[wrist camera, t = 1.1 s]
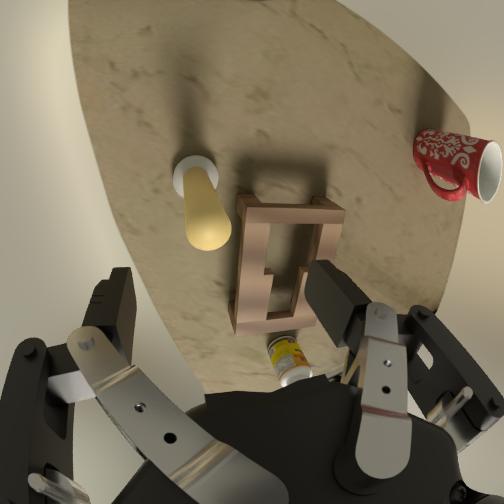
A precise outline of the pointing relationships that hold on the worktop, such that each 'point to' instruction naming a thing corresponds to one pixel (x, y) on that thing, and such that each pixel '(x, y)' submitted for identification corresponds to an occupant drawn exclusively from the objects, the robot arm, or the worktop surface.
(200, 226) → the peg
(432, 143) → the mug
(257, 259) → the keyhole board
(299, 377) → the supplement bottle
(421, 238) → the worktop surface
